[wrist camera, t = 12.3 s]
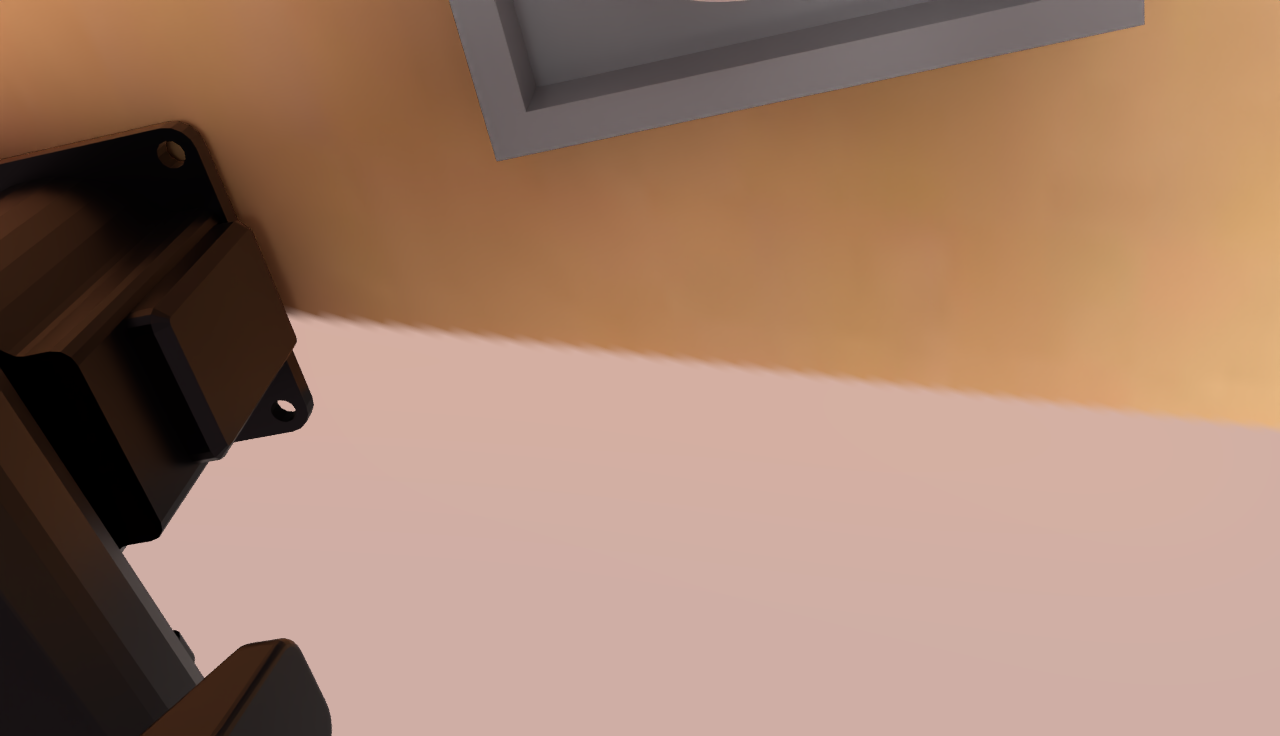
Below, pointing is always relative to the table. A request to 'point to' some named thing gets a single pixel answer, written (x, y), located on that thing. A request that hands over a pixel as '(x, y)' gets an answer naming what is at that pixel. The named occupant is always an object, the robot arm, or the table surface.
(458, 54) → the table surface
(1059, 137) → the table surface
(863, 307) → the table surface
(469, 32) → the tray
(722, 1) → the milkshake
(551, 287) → the table surface
